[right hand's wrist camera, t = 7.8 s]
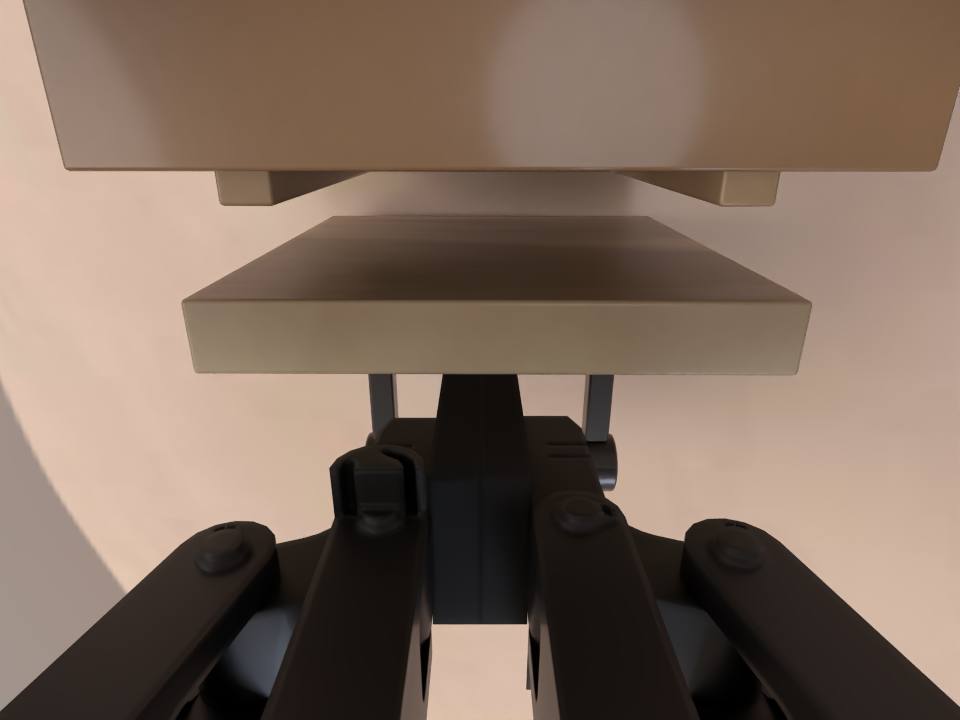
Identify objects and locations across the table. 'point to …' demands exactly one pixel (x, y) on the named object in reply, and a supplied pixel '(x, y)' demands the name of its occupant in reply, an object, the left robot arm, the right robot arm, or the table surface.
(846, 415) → the table surface
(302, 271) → the drawer
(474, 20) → the cabinet
